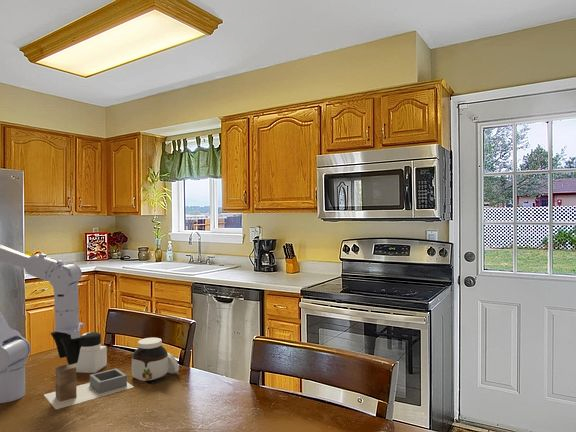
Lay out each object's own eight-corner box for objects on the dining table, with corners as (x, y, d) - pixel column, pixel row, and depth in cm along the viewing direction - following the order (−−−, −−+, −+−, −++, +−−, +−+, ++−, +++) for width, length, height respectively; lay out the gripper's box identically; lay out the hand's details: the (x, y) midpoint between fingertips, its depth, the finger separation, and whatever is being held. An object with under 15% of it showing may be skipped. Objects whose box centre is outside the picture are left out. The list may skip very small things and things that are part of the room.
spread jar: (127, 382, 125) (127, 343, 125) (149, 369, 136) (148, 332, 136) (164, 386, 123) (164, 346, 123) (183, 372, 134) (182, 335, 134)
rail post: (60, 401, 111) (59, 371, 110) (55, 397, 113) (55, 367, 113) (76, 397, 113) (76, 367, 113) (72, 392, 116) (71, 363, 116)
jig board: (55, 413, 106) (55, 397, 106) (43, 398, 115) (43, 383, 115) (134, 390, 120) (134, 376, 120) (117, 378, 129) (117, 365, 129)
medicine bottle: (107, 367, 138) (106, 330, 138) (95, 376, 131) (94, 337, 131) (86, 367, 139) (86, 330, 139) (73, 375, 132) (72, 336, 131)
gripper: (91, 310, 111) (93, 362, 111) (74, 303, 122) (75, 350, 122) (62, 315, 106) (63, 370, 106) (46, 307, 117) (48, 356, 117)
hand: (68, 360), depth 114 cm, fingers open, 7 cm apart
